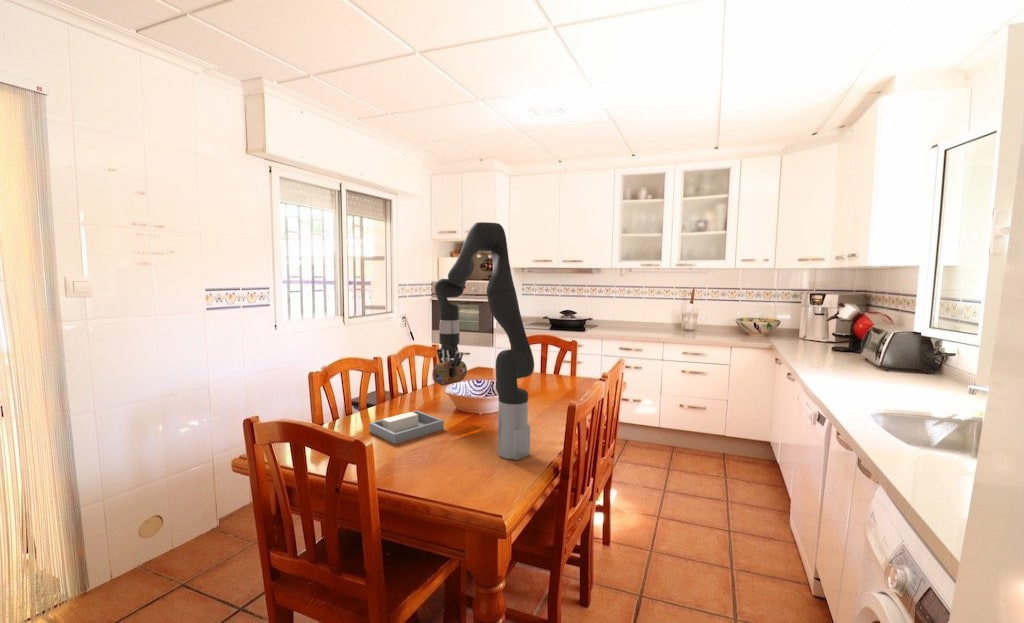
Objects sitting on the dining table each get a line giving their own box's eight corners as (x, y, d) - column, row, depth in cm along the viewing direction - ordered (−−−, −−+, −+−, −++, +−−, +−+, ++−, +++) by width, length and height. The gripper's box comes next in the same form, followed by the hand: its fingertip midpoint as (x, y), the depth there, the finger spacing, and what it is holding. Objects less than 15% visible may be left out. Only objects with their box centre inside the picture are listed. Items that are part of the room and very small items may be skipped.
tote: (443, 431, 163) (443, 420, 162) (394, 446, 148) (394, 434, 148) (417, 420, 173) (417, 410, 173) (369, 434, 159) (369, 422, 159)
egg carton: (418, 425, 166) (418, 414, 166) (389, 433, 158) (389, 422, 157) (411, 422, 169) (411, 411, 169) (382, 430, 161) (382, 419, 160)
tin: (435, 387, 168) (436, 365, 167) (430, 385, 170) (431, 363, 169) (466, 380, 179) (467, 359, 178) (461, 378, 181) (462, 358, 180)
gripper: (469, 332, 170) (469, 378, 172) (445, 329, 180) (446, 372, 181) (453, 334, 165) (453, 381, 166) (430, 330, 175) (430, 375, 176)
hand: (449, 376), depth 174 cm, fingers closed on tin, 2 cm apart
